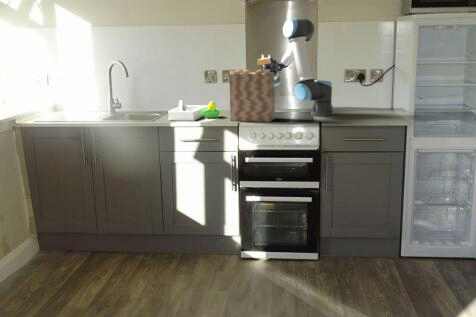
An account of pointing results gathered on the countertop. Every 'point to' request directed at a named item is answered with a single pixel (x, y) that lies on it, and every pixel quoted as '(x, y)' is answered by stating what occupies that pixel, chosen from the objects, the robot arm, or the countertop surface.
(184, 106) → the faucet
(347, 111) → the countertop surface
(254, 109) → the brown patterned box
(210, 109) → the fruit basket
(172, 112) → the tray
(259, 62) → the bar
